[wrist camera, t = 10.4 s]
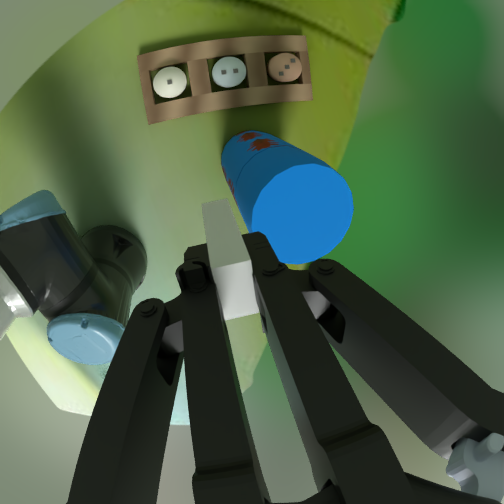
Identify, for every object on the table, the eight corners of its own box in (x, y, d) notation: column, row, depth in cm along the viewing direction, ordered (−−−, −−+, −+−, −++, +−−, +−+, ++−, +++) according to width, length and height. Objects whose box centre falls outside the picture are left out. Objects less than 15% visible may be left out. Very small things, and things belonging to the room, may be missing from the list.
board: (150, 123, 40) (148, 124, 38) (139, 57, 33) (136, 55, 32) (308, 100, 43) (312, 100, 41) (301, 37, 36) (305, 35, 35)
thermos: (211, 140, 44) (234, 183, 23) (272, 121, 44) (347, 148, 23) (231, 196, 50) (266, 280, 29) (287, 177, 50) (358, 245, 29)
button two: (213, 89, 39) (215, 88, 36) (209, 61, 36) (210, 58, 33) (244, 85, 39) (248, 84, 37) (240, 57, 37) (244, 54, 34)
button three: (268, 83, 40) (273, 82, 37) (264, 55, 37) (270, 53, 34) (296, 81, 40) (303, 80, 38) (293, 54, 38) (300, 52, 35)
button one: (158, 101, 38) (155, 101, 35) (153, 73, 35) (150, 71, 32) (188, 94, 38) (188, 93, 36) (184, 66, 36) (184, 63, 33)
